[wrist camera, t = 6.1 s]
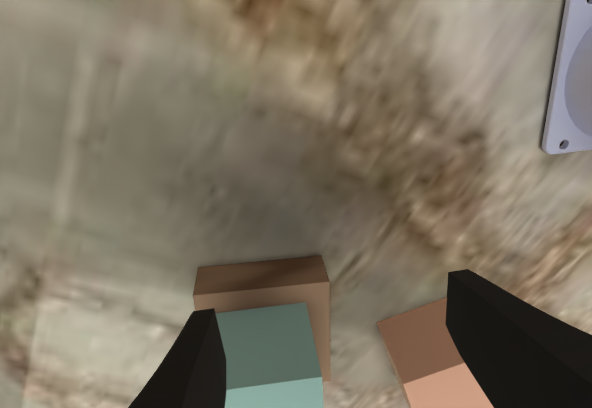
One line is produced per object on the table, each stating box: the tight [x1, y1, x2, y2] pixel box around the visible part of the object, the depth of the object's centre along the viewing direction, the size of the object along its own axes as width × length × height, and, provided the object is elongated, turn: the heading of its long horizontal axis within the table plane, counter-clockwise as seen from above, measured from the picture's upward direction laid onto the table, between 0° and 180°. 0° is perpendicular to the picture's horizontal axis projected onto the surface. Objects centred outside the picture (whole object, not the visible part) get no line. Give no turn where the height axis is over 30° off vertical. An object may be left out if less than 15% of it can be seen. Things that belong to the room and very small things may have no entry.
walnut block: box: [193, 256, 331, 382], centre depth 24 cm, size 7×7×3 cm
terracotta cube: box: [377, 297, 494, 408], centre depth 25 cm, size 5×5×5 cm
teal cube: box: [215, 302, 323, 408], centre depth 20 cm, size 5×5×5 cm
